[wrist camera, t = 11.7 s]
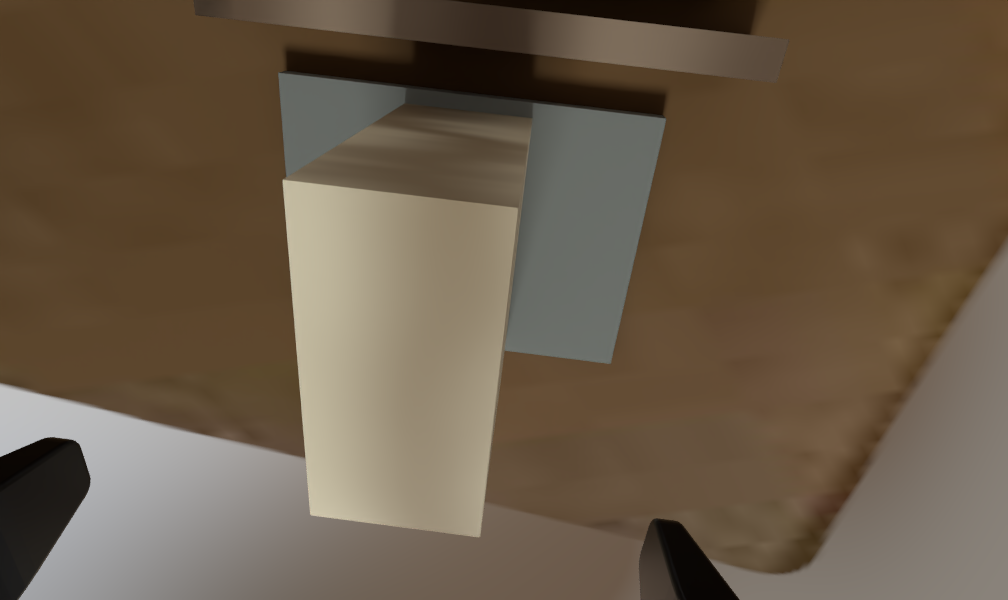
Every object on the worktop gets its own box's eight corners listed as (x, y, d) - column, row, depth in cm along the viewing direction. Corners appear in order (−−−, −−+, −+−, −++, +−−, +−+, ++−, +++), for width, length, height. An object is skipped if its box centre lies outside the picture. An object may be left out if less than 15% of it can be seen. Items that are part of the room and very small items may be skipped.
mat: (303, 316, 22) (297, 324, 21) (286, 70, 18) (278, 72, 17) (609, 355, 22) (610, 363, 21) (662, 115, 18) (666, 118, 17)
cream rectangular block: (400, 324, 21) (310, 515, 13) (404, 103, 17) (282, 179, 9) (506, 338, 21) (479, 537, 13) (532, 118, 17) (518, 207, 9)
